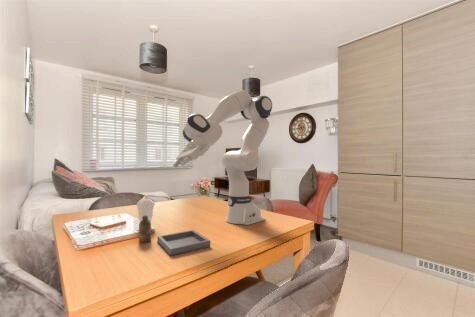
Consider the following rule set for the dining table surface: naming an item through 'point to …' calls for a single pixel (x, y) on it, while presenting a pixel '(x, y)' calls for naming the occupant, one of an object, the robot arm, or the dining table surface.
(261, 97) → the robot arm
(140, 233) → the brown bottle
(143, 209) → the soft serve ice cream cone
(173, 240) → the tray
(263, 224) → the dining table surface
